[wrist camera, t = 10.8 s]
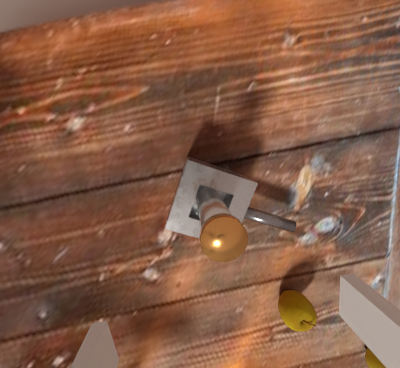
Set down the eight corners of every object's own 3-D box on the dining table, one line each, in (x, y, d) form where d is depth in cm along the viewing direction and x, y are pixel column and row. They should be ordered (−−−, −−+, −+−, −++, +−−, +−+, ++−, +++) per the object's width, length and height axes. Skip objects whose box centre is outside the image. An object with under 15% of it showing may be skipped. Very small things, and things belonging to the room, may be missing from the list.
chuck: (168, 212, 36) (164, 228, 29) (187, 155, 34) (187, 159, 27) (270, 242, 39) (286, 262, 32) (293, 191, 37) (315, 202, 30)
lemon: (381, 349, 48) (418, 390, 40) (361, 360, 48) (394, 402, 41) (374, 335, 47) (411, 374, 39) (353, 346, 47) (386, 387, 39)
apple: (305, 288, 42) (333, 322, 34) (289, 310, 43) (312, 348, 35) (282, 277, 41) (305, 309, 33) (265, 300, 42) (284, 336, 34)
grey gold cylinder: (191, 188, 32) (196, 224, 19) (219, 182, 32) (244, 213, 19) (196, 214, 34) (205, 266, 20) (223, 208, 34) (250, 256, 20)
